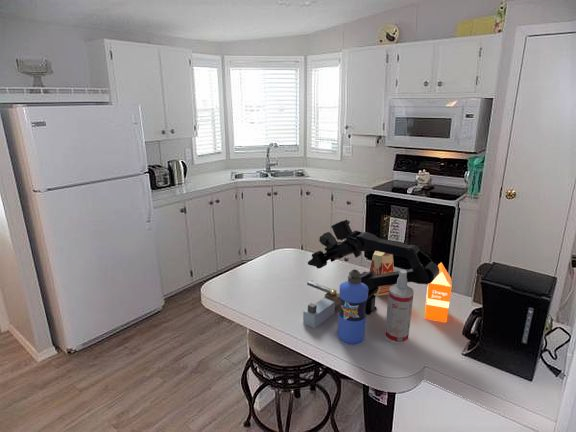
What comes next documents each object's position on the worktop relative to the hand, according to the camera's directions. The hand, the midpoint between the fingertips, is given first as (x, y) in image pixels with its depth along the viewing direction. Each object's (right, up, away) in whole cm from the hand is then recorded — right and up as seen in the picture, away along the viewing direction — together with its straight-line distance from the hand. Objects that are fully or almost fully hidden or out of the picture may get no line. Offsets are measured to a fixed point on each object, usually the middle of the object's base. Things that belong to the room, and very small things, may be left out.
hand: (314, 260), depth 156 cm
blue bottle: (+11, -23, -27) cm, 37 cm away
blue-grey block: (+1, -20, -16) cm, 25 cm away
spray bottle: (+26, -23, -27) cm, 44 cm away
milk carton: (+28, -13, +5) cm, 32 cm away
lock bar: (+2, -11, -8) cm, 14 cm away
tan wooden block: (+6, -18, -10) cm, 21 cm away
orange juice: (+45, -19, -13) cm, 51 cm away
